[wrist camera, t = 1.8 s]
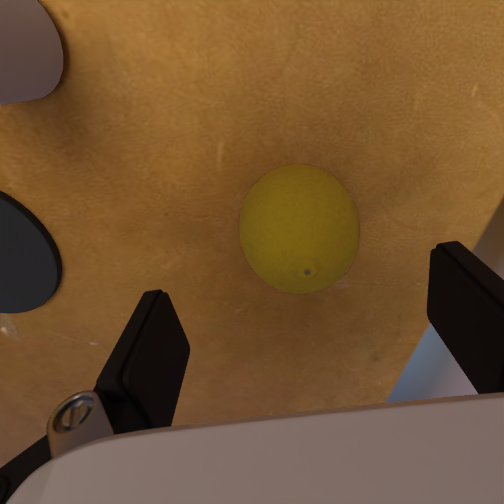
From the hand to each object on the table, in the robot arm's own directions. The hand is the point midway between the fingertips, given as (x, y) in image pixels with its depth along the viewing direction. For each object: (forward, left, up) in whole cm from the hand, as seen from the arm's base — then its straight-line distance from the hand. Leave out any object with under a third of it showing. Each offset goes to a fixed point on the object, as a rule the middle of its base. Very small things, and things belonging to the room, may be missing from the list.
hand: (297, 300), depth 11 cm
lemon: (0, +1, -9) cm, 9 cm away
